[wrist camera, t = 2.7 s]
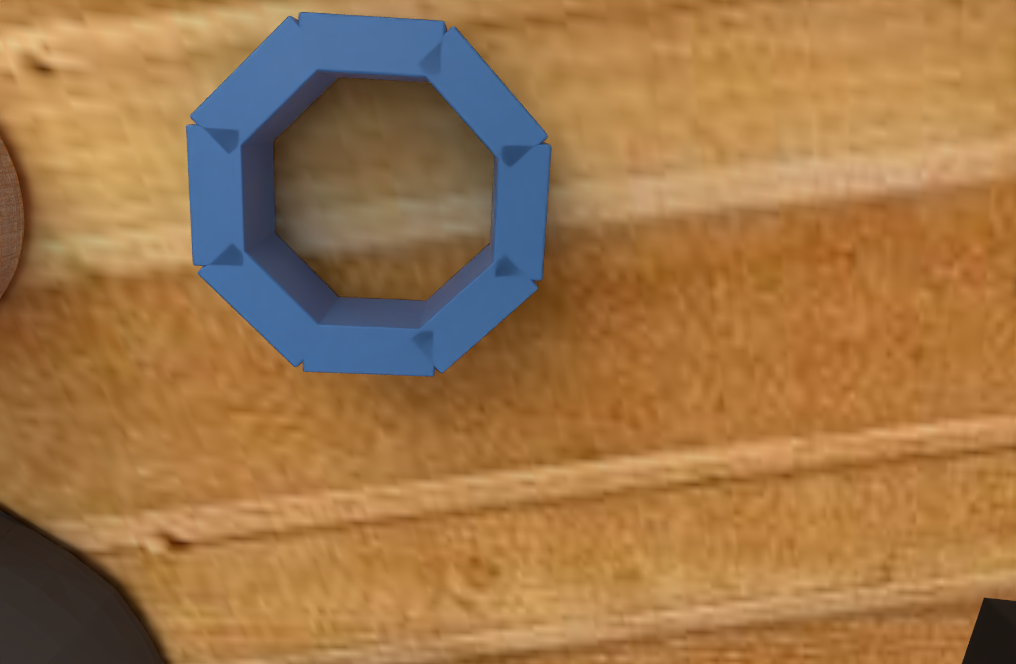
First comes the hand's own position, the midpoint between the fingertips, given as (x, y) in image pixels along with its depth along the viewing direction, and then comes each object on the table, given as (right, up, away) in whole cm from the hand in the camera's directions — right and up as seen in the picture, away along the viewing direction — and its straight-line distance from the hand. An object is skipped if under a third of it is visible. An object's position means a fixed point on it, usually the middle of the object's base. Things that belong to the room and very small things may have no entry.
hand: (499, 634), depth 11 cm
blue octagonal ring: (-4, +9, +18) cm, 20 cm away
